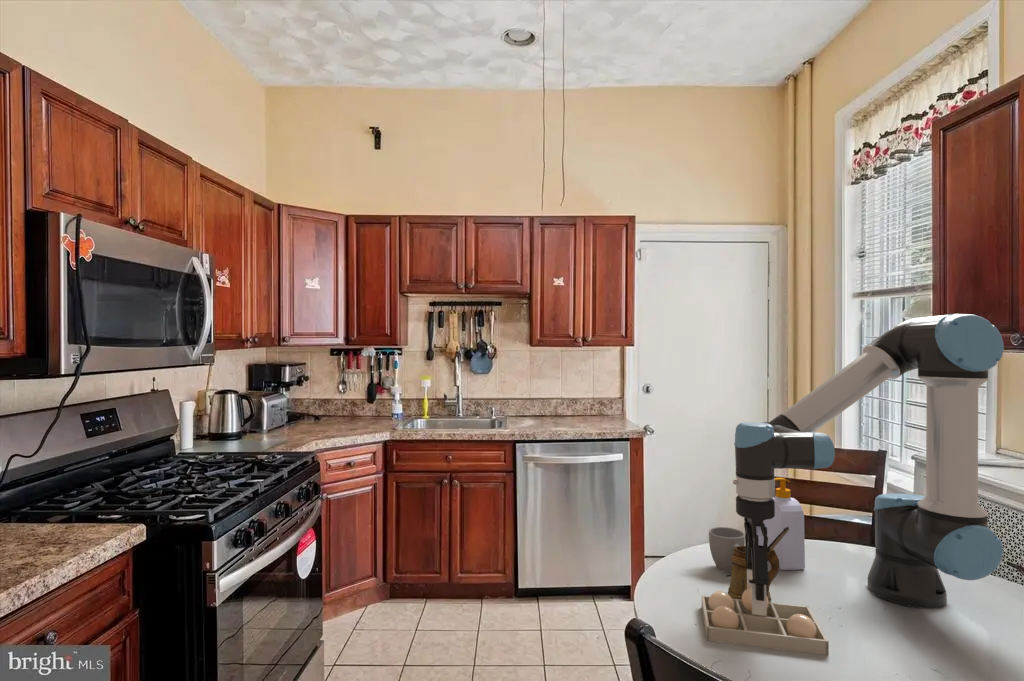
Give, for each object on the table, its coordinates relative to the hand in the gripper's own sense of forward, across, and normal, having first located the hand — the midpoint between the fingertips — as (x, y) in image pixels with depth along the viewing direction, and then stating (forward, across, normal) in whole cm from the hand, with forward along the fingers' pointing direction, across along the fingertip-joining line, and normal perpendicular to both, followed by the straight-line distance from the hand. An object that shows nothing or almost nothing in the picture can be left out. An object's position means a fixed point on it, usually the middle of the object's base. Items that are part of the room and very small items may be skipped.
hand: (756, 607), depth 116 cm
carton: (+3, +4, 0) cm, 5 cm away
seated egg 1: (+3, 0, -7) cm, 8 cm away
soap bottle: (+4, -36, +12) cm, 38 cm away
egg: (+1, 0, 0) cm, 1 cm away
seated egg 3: (+3, +7, +7) cm, 10 cm away
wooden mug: (+3, -10, +2) cm, 11 cm away
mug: (+4, -28, -2) cm, 28 cm away
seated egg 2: (+3, +7, -7) cm, 10 cm away
